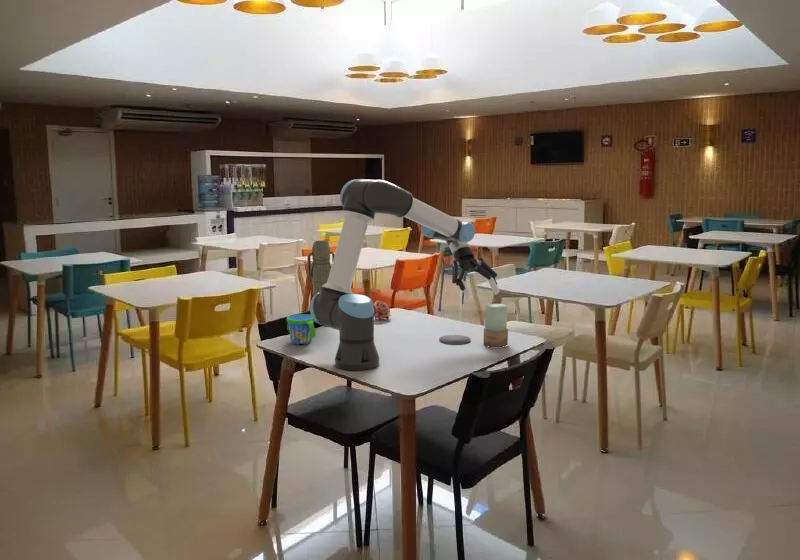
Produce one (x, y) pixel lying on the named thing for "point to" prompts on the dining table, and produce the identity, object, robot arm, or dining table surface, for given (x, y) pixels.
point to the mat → (454, 339)
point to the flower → (381, 310)
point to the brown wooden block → (495, 338)
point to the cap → (496, 317)
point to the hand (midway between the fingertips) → (483, 294)
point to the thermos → (319, 265)
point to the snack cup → (301, 328)
